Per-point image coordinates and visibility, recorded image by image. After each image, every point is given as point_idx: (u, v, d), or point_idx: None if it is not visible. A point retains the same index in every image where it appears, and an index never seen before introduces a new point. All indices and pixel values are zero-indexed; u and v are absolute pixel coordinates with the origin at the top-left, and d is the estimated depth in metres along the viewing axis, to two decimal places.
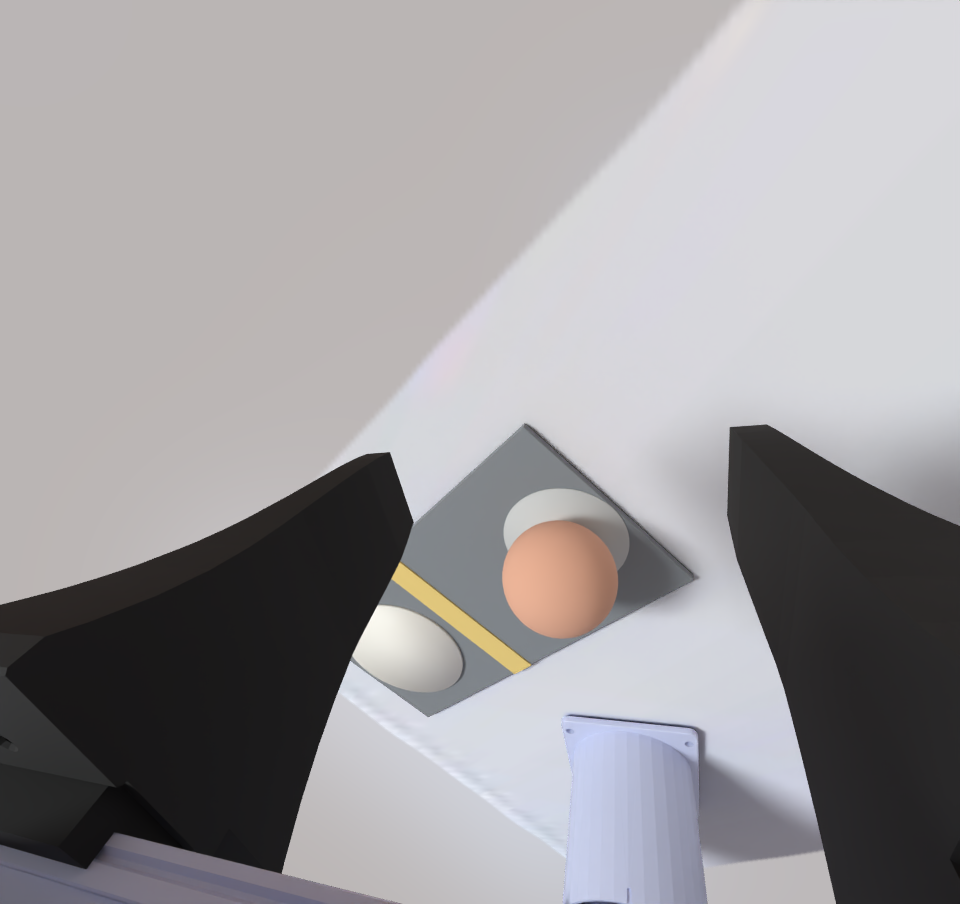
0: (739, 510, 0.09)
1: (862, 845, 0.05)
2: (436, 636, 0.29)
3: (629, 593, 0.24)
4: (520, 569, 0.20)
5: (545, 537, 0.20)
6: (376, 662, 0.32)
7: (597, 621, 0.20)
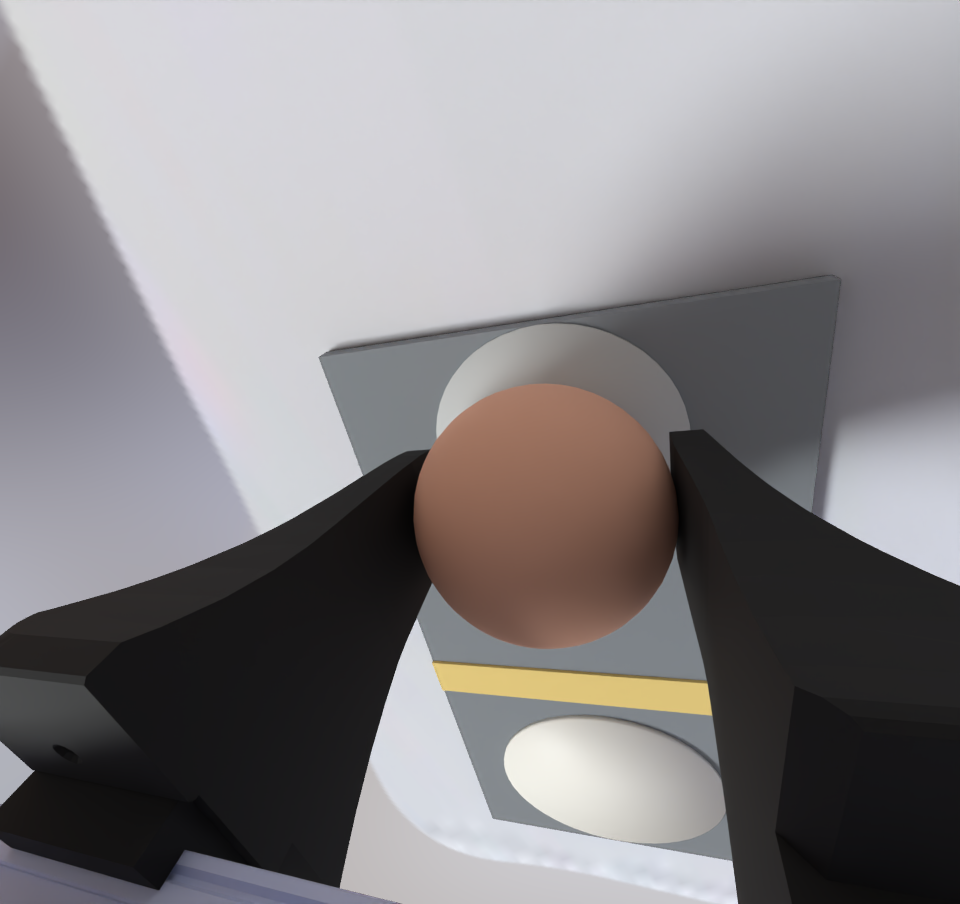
0: None
1: (742, 825, 0.05)
2: (614, 736, 0.17)
3: (765, 430, 0.10)
4: (420, 554, 0.09)
5: (422, 467, 0.09)
6: (604, 820, 0.19)
7: (619, 530, 0.07)
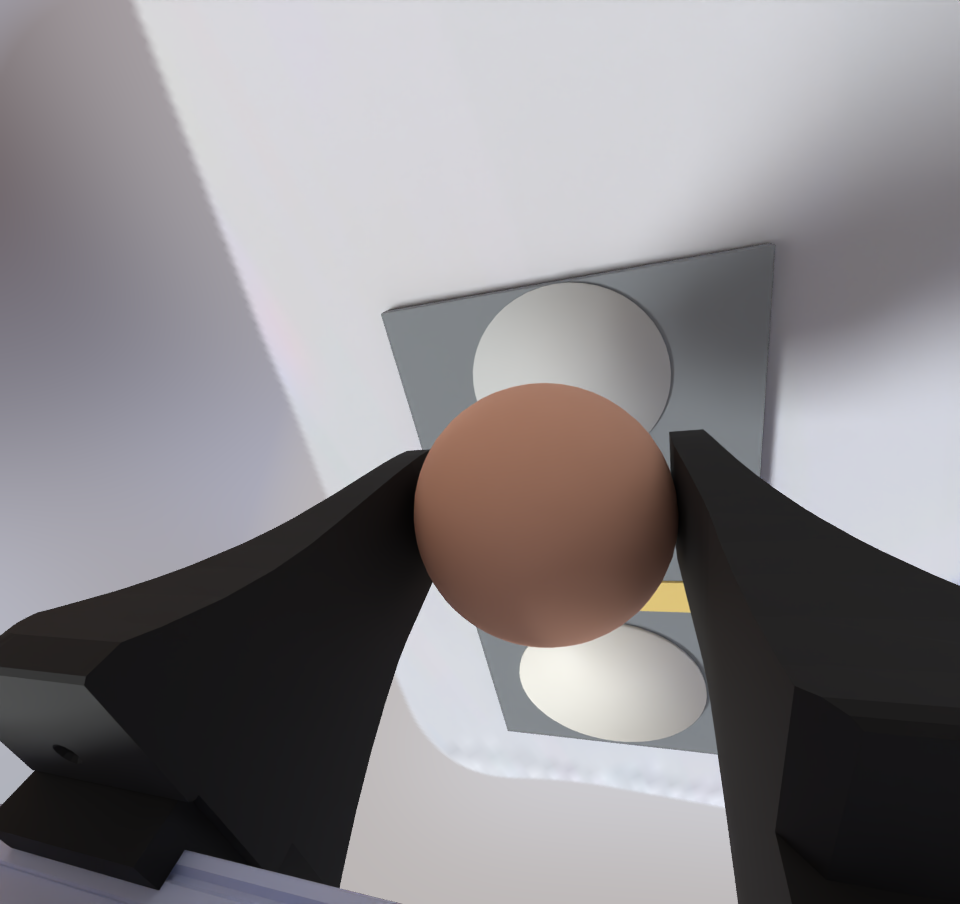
0: None
1: (743, 826, 0.05)
2: (612, 638, 0.20)
3: (726, 363, 0.14)
4: (420, 553, 0.09)
5: (423, 465, 0.09)
6: (604, 721, 0.23)
7: (619, 529, 0.07)
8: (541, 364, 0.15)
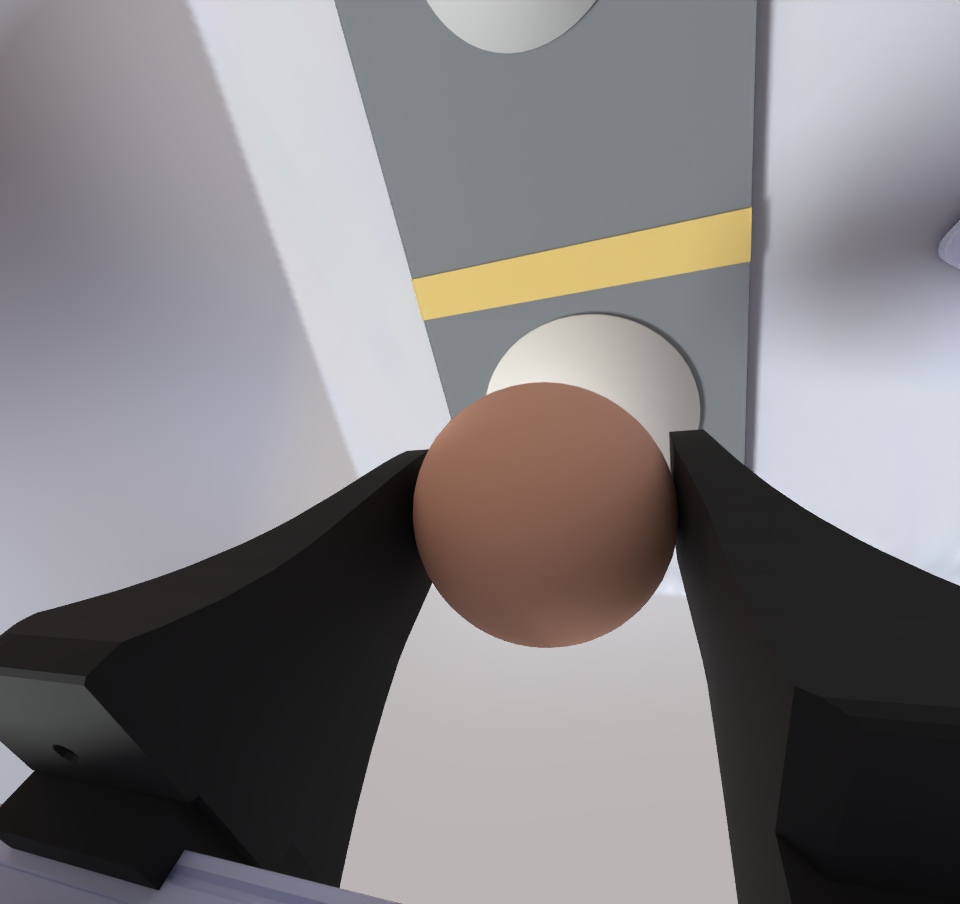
0: None
1: (742, 826, 0.05)
2: (588, 335, 0.17)
3: None
4: (419, 553, 0.09)
5: None
6: None
7: (619, 529, 0.07)
8: None
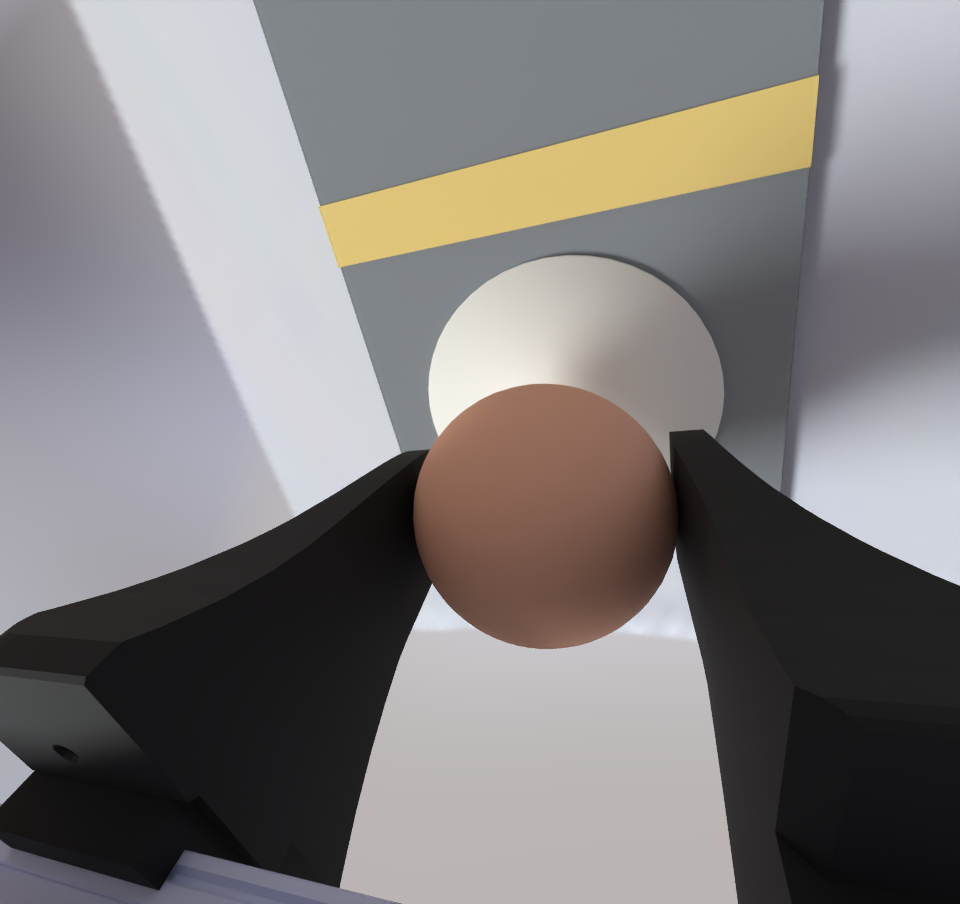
0: None
1: (743, 826, 0.05)
2: (566, 287, 0.12)
3: None
4: (419, 554, 0.09)
5: (422, 466, 0.09)
6: None
7: (619, 530, 0.07)
8: None
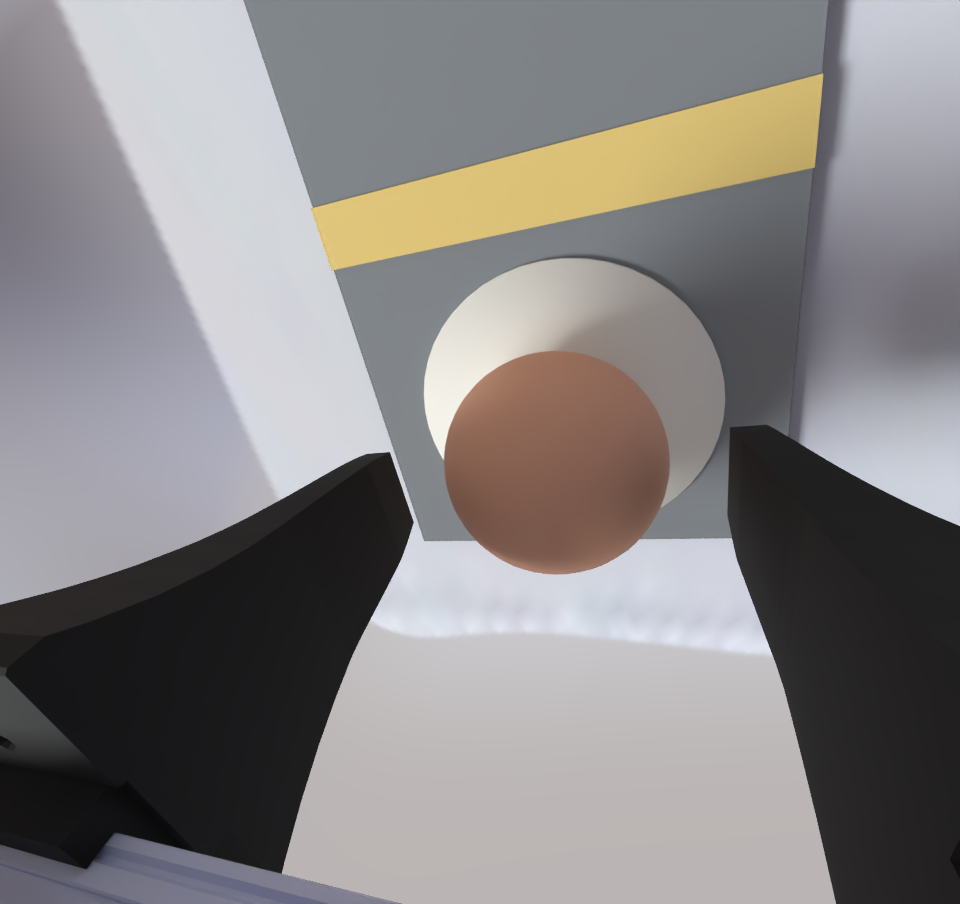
0: (739, 510, 0.09)
1: (862, 844, 0.05)
2: (564, 290, 0.12)
3: None
4: (450, 496, 0.11)
5: (451, 423, 0.11)
6: None
7: (620, 464, 0.09)
8: None
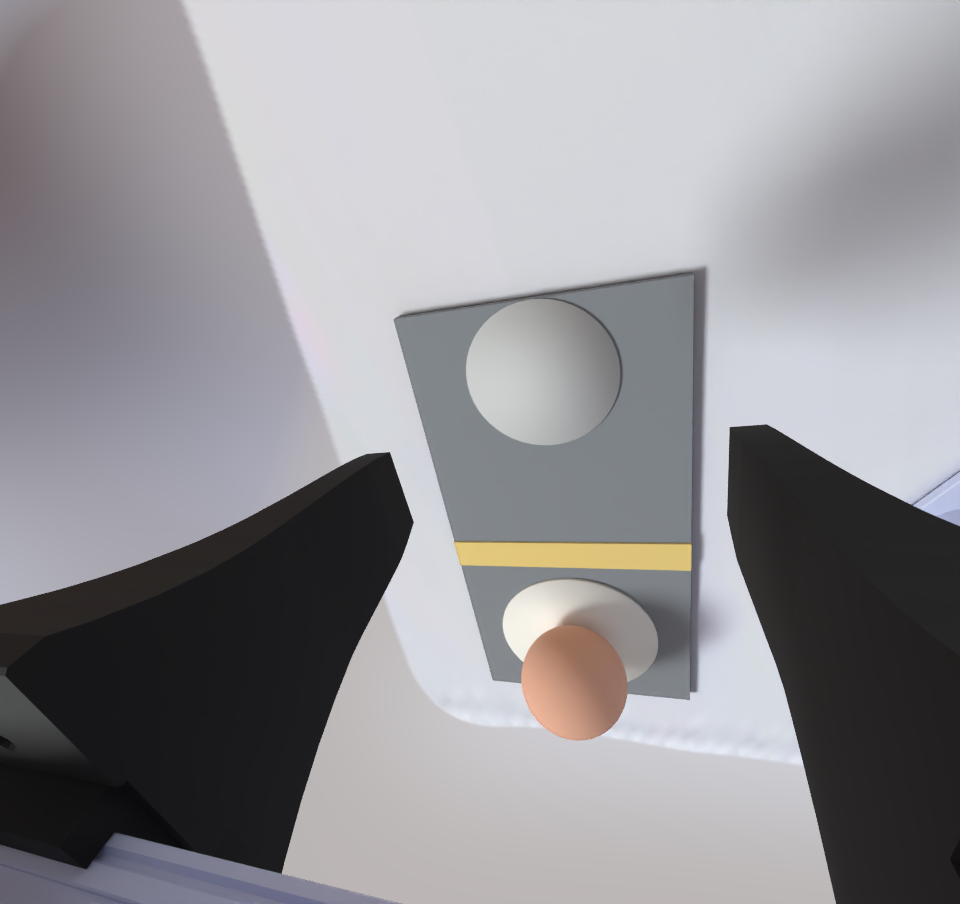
0: (739, 510, 0.09)
1: (862, 844, 0.05)
2: (579, 592, 0.24)
3: (662, 363, 0.18)
4: (526, 700, 0.23)
5: (526, 662, 0.23)
6: None
7: (604, 705, 0.21)
8: (520, 362, 0.19)
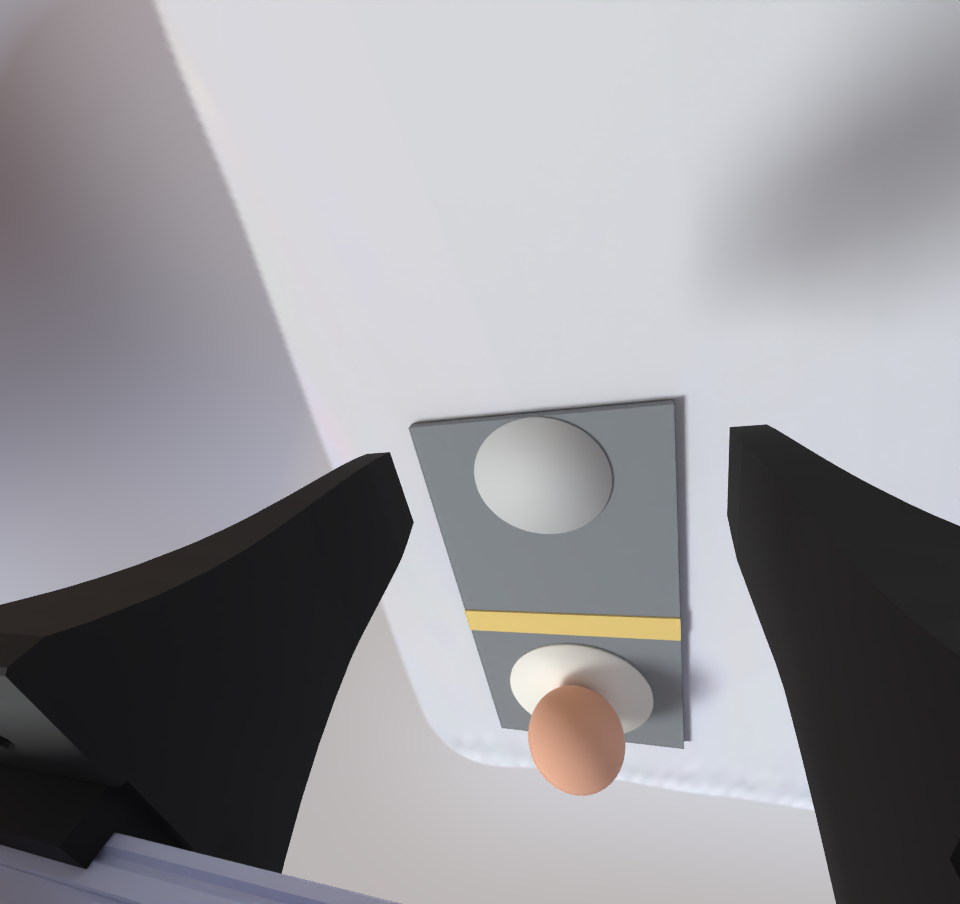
0: (739, 510, 0.09)
1: (862, 844, 0.05)
2: (580, 656, 0.26)
3: (648, 472, 0.20)
4: (532, 757, 0.25)
5: (532, 722, 0.25)
6: None
7: (603, 766, 0.23)
8: (522, 466, 0.21)
